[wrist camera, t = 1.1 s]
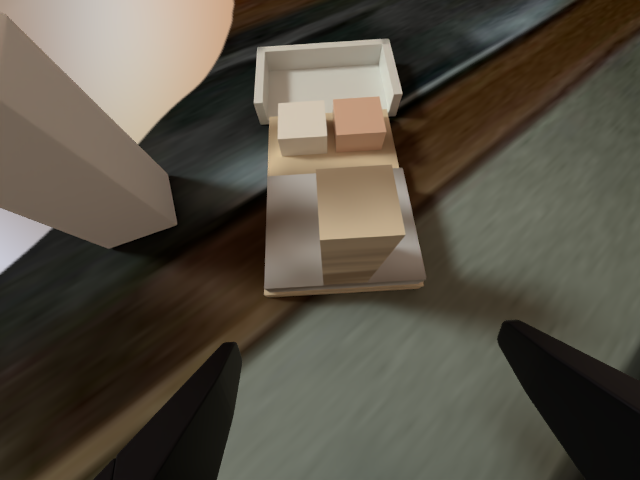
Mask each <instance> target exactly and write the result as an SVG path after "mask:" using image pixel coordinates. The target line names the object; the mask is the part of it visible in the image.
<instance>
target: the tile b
mask: <svg viewBox="0 0 640 480" xmlns="http://www.w3.org/2000/svg"><path fill="white" fill-rule="evenodd" d="M333 129H334V139H335V149H336V153H339V152H354V151H370V150H381V149H382V145H383V142H384V139H385V135H386V127H385V122H384V117H383V112H382V107H381V102H380V97H379V96H378V97H362V98H347V99H333Z"/></svg>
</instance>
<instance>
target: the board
mask: <svg viewBox="0 0 640 480" xmlns="http://www.w3.org/2000/svg"><path fill="white" fill-rule="evenodd" d="M382 112H383V117H384V122H385V127H386V135H385V139H384V142H383V145H382V149H381V150H370V151H354V152H339V153H336V149H335V139H334V129H333V113H325V115H326V127H327V154H311V155H295V156H282V154H281V150H280V147H279V143H278V116H273V117H269V149H268V176H280V175H296V174H312V173H316V169H328V168H344V167H359V166H375V165H391V164H392V168H399V165H398V160H397V156H396V151H395V146H394V141H393V137H392V132H391V127H390V122H389V118H388V113H387V109H382ZM267 183H268V182H267ZM266 216H267V215H266ZM265 250H266V248H265ZM264 283H265V281H264ZM422 286H424V284H423V282H421V283H419V284H409V285H392V286H375V287H358V288H341V289H324V290H307V291H290V292H273V293H270V292H268V291H267V290H265V289H264V295H265V296H266V297H285V296H302V295H319V294H336V293H353V292H370V291H387V290H404V289H418V288H420V287H422Z"/></svg>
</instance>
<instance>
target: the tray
mask: <svg viewBox="0 0 640 480" xmlns="http://www.w3.org/2000/svg"><path fill="white" fill-rule="evenodd" d="M402 94H403V93H402V89H401V85H400V81H399V77H398V73H397V69H396V65H395V61H394V57H393V53H392V49H391V45H390V41H389V39H375V40H360V41H345V42H330V43H315V44H300V45H285V46H270V47H257V62H256V77H255V93H254V105H255V109H256V112H257V115H258V118H259V121H260V124H261V125H263V124H269V117H273V116H278V103H289V102H304V101H320V100H324V103H325V113H333V99H347V98H362V97H378V96H379V97H380V102H381V107H382V109H387V113H388V116H396V113H397V110H398V107H399V104H400V101H401V97H402Z"/></svg>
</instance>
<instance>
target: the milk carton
mask: <svg viewBox="0 0 640 480" xmlns="http://www.w3.org/2000/svg"><path fill="white" fill-rule="evenodd" d="M0 208H3V209H5V210H8V211H11V212H13V213H16V214H18V215H21V216H24V217H26V218H29V219H32V220H34V221H37V222H39V223H42V224H45V225H47V226H50V227H53V228H55V229H58V230H61V231H63V232H66V233H69V234H71V235H74V236H76V237H79V238H82V239H84V240H87V241H90V242H92V243H95V244H98V245H100V246H103V247H106V248H112V247H115V246H118V245H121V244H124V243H127V242H130V241H133V240H136V239H139V238H141V237H144V236H147V235H150V234H153V233H156V232H159V231H162V230H164V229H167V228H170V227H173V226H176V225H177V219H176V214H175V208H174V203H173V198H172V193H171V187H170V182H169V177H168V174H167V173H166V172H165V171H164V170H163V169H162V168H161V167H160V166H159V165H158V164H157V163H156V162H155V161H154V160H153V159H152V158H151V157H150V156H149V155H148V154H147V153H146V152H145V151H144V150H143V149H142V148H141V147H140V146H139V145H138V144H137V143H136V142H135V141H133V140H132V139H131V138H130V137H129V136H128V135H127V134H126V133H125V132H124V131H123V130H122V129H121V128H120V127H119V126H118V125H117V124H116V123H115V122H114V121H113V120H112V119H111V118H110V117H109V116H108V115H107V114H106V113H105V112H104V111H103V110H102V109H101V108H100V107H99V106H98V105H97V104H96V103H95V102H94V101H93V100H92V99H91V98H90V97H89V96H88V95H87V94H86V93H85V92H84V91H83V90H82V89H81V88H80V87H79V86H78V85H77V84H76V83H75V82H73V80H71V78H69V77H68V75H67V74H66V73H64V72H63V71H62V70H61V69H60V68H59V67H58V66H57V65H56V64H55V63H54V62H53V61H52V60H51V59H50V58H49V57H48V56H47V55H46V54H45V53H44V52H43V51H42V50H41V49H40V48H39V47H38V46H37V45H36V44H35V43H34V42H33V41H32V40H31V39H30V38H29V37H28V36H27V35H26V34H25V33H24V32H23V31H22V30H21V29H20V28H19V27H18V26H17V25H16V24H15V23H14V22H13V21H12V20H10V18H9V17H8V16H7V15H6V14H3V13H1V12H0Z"/></svg>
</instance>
